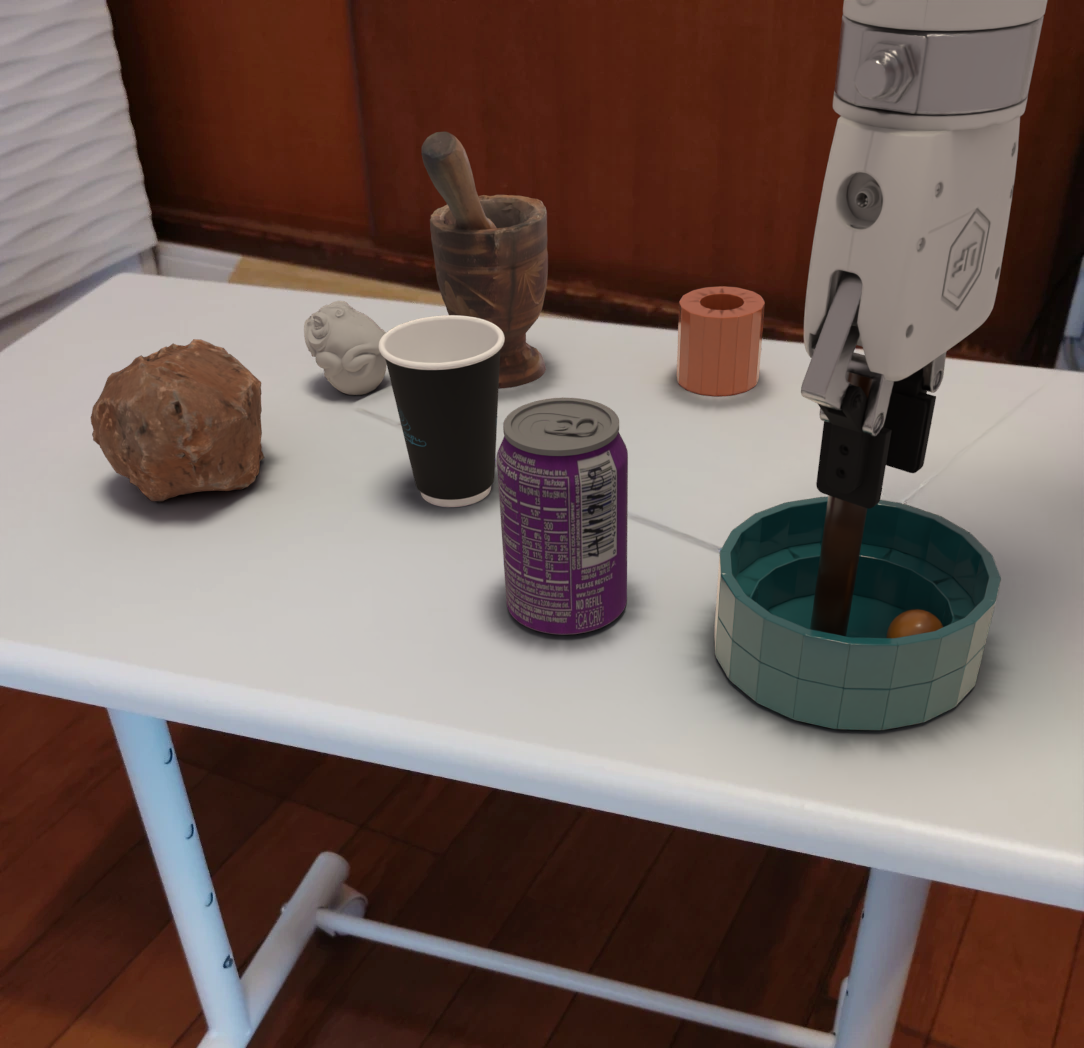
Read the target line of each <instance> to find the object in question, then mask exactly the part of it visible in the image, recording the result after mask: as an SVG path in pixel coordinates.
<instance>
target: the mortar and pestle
mask: <svg viewBox="0 0 1084 1048" xmlns="http://www.w3.org/2000/svg"><path fill="white" fill-rule="evenodd" d="M421 157H422V163H423V166H424V168H425V170H426V172H427V174H428V177H429V179H430V180H431V182H432V184H433V186H434V188H435V189H436V191H437V192H438V193H439V195H440V196H441V198H442V199H443V200H444V201H445V203H446V205H444V206H442V207H438V208H437V209H435V210H434V211H433V213H431V214H430V219H429V226H430V227H429V230H430V236H431V237H430V240H431V245H432V251H433V258H434V268H435V274H436V281H437V284H438V288H439V291H440V296H441V299H442V301H443V303H444V305H445V308H446V311H447V315H457V316H469V317H475V318H480V319H483V320H486V321H489V322H491V323H493V324H495V325H496V326H498V327H499V328H500V329H501V330H502V332H503V334H504V337H505V340H504V344H503V346H502V348H501V349H500V365H499V388H498V390H499V389H509V388H517V387H520V386H524V385H527V384H530V383H533V382H535V381H537V380H539V379H540V378H542V376H543V375H544V374H545V373H546V371H547V368H546V363H545V359H544V356H543V354H542V353H541V352H540V351H539V349H538V348H536V347H534V346H532V345H530V344H529V343H528V342H527V333H528V332H529V330H530V329H531V328H532V326H533V325H535V323H536V321H537V320H538V319H539V317H540V315H541V312H542V310H543V307H544V301H545V296H546V293H547V289H548V288H547V286H548V273H549V272H548V270H549V254H548V253H549V252H548V211H547V207H546V206H545V205H544V203H543V201H542V200H540V199H538V198H533V197H532V198H531V197H530V196H522V195H515V194H509V195H507V194H495V195H485V194H483V195H478V192H477V189H476V184H475V178H474V175H473V170H472V168H471V167H472V166H471V163H470V161H469V158H468V154H467V152H466V149H465V147H464V146H463V144H462V142H461V141H460V140H459V139H458V138H457V137H456V136H455V135H454V134H452V133H450V132H449V131H438V132H433V133H432V134H430V135H429V136H427V137H426V139H425V140H424V141H423V143H422V145H421Z"/></svg>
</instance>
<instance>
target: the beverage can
mask: <svg viewBox="0 0 1084 1048" xmlns="http://www.w3.org/2000/svg"><path fill="white" fill-rule="evenodd" d="M502 428H503V429H502V431H503V435H504V436H503V438H502V440H501V442H500V445H499V447H498V449H497V452H496V453H497V454H496V468H497V469H496V470H497V472H496V473H497V482H498V483H497V484H498V485H497V486H498V500H499V514H500V525H501V526H500V529H501V544H502V557H503V573H504V587H505V597H506V598H505V602H506V607H507V610H508V612H509V614H510V615H511V616H512V618H513V619H515V620H516V621H517V622H518V623H519V624H521V625H523V626H524V627H526V628H529V629H531V630H533V631H537V632H540V633H545V634H551V635H577V634H583V633H588V632H592V631H596V630H598V629H602V628H603V627H605V626H608V625H609V624H611V623H612V622H614V621H615V620H617V618H619V617H620V616H621V614H622V613H623V612H624V610H625V608H626V606H627V603H628V519H629V518H628V517H629V516H628V513H629V511H628V507H629V506H628V505H629V503H628V502H629V501H628V498H629V497H628V496H629V495H628V494H629V493H628V492H629V487H628V486H629V452H628V448H627V445H626V442H625V441H624V439H623V438H622V435H621V433H620V418H619V416H618V414H617V413H616V412H615V410H613V409H612V408H610V407H609V406H607V405H606V404H603V403H601V402H597V401H595V400H590V399H587V398H586V399H585V398H577V397H553V398H544V399H538V400H535V401H532V402H528V403H525V404H523V405H520V406H518V407H517V408H515V409H514V410H512V411H510V413H508V415H507V416H506V417H505V418H504V420H503V423H502Z"/></svg>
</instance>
